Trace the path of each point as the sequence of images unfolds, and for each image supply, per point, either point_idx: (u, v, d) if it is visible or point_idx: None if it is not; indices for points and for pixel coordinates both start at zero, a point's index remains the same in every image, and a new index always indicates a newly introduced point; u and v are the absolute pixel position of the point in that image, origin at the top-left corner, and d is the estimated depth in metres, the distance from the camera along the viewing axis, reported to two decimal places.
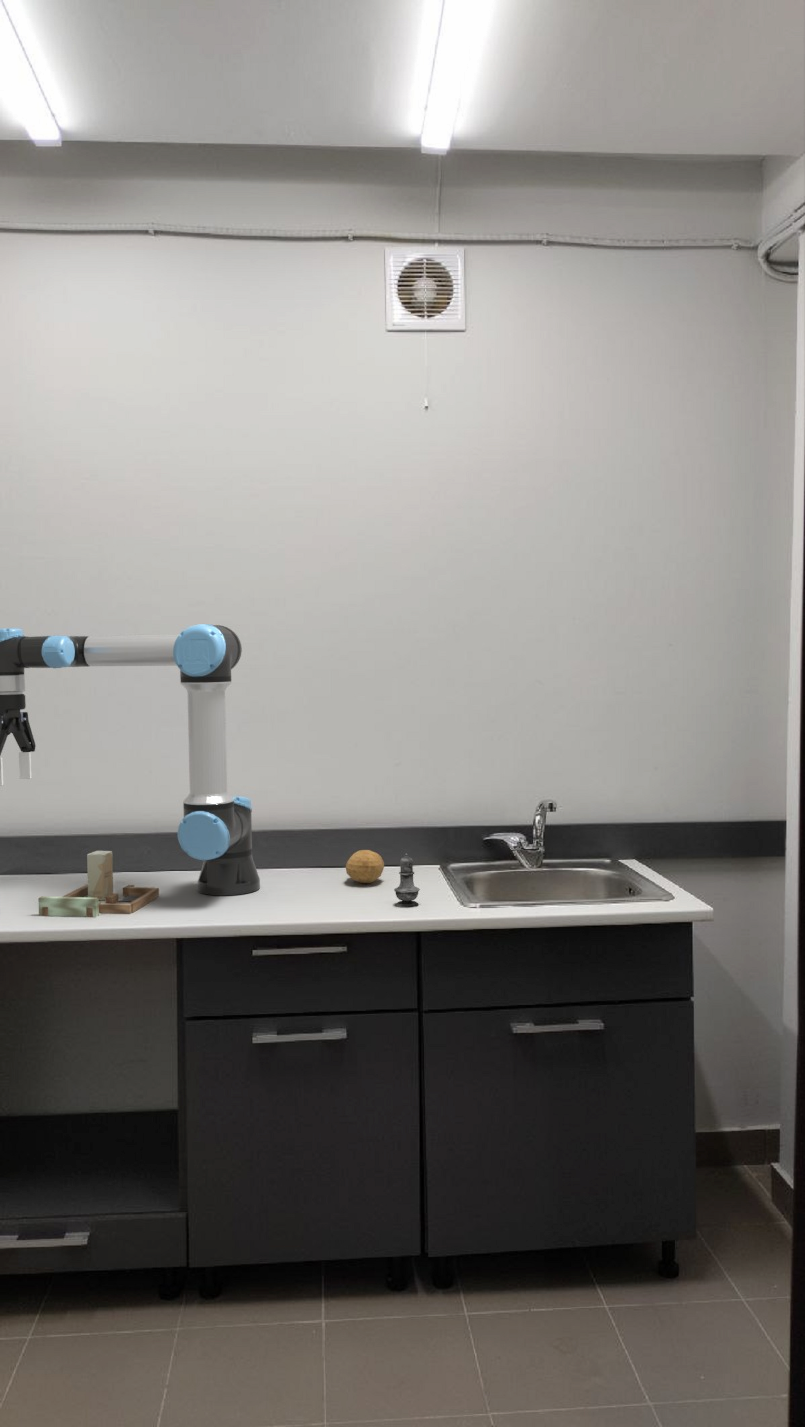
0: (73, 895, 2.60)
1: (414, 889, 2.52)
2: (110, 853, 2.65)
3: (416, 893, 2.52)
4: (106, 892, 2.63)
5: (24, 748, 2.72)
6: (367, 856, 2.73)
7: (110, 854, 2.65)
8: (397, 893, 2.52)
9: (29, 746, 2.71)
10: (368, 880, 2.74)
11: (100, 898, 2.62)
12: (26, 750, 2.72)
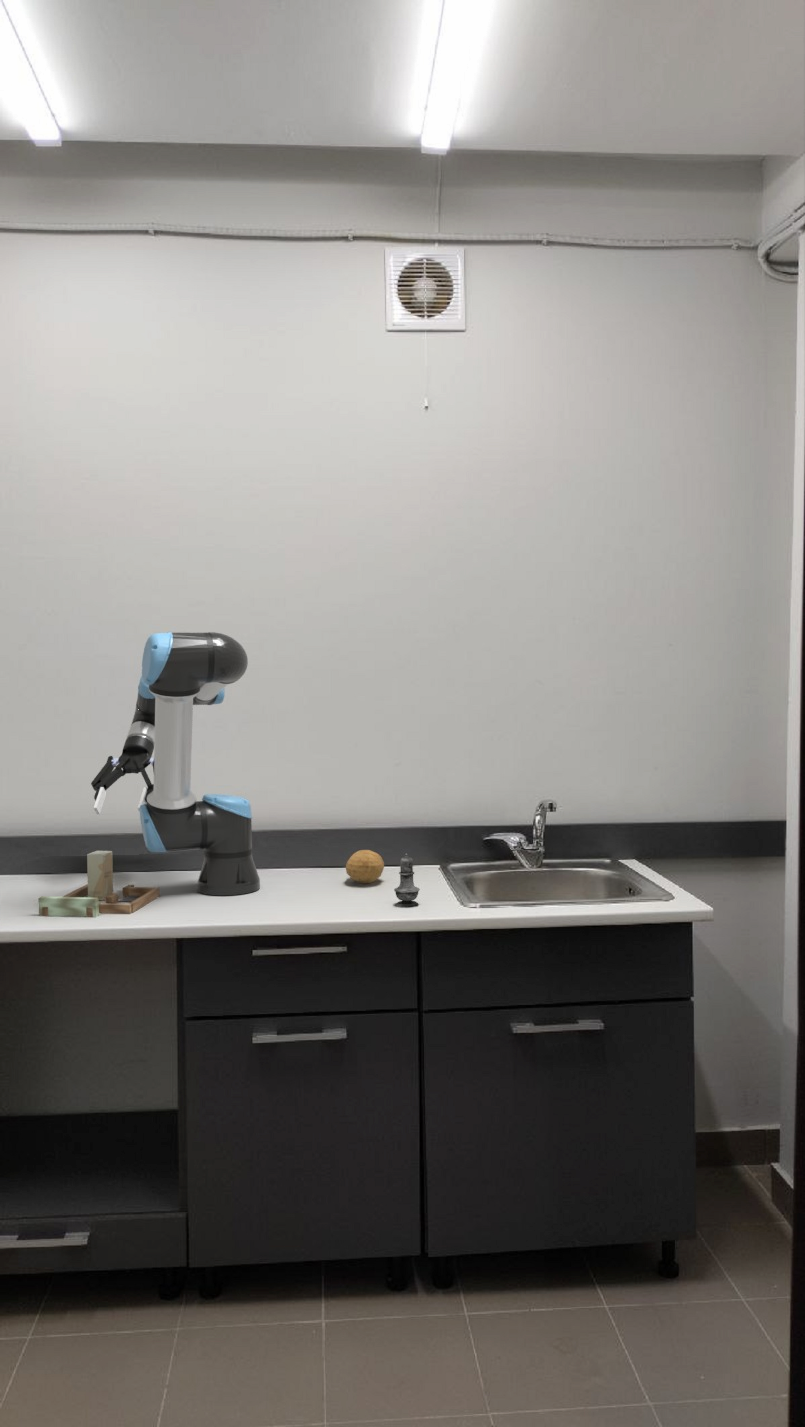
0: (73, 895, 2.60)
1: (414, 889, 2.52)
2: (110, 853, 2.65)
3: (416, 893, 2.52)
4: (106, 892, 2.63)
5: None
6: (367, 856, 2.73)
7: (110, 854, 2.65)
8: (397, 893, 2.52)
9: (148, 782, 2.79)
10: (368, 880, 2.74)
11: (100, 898, 2.62)
12: None
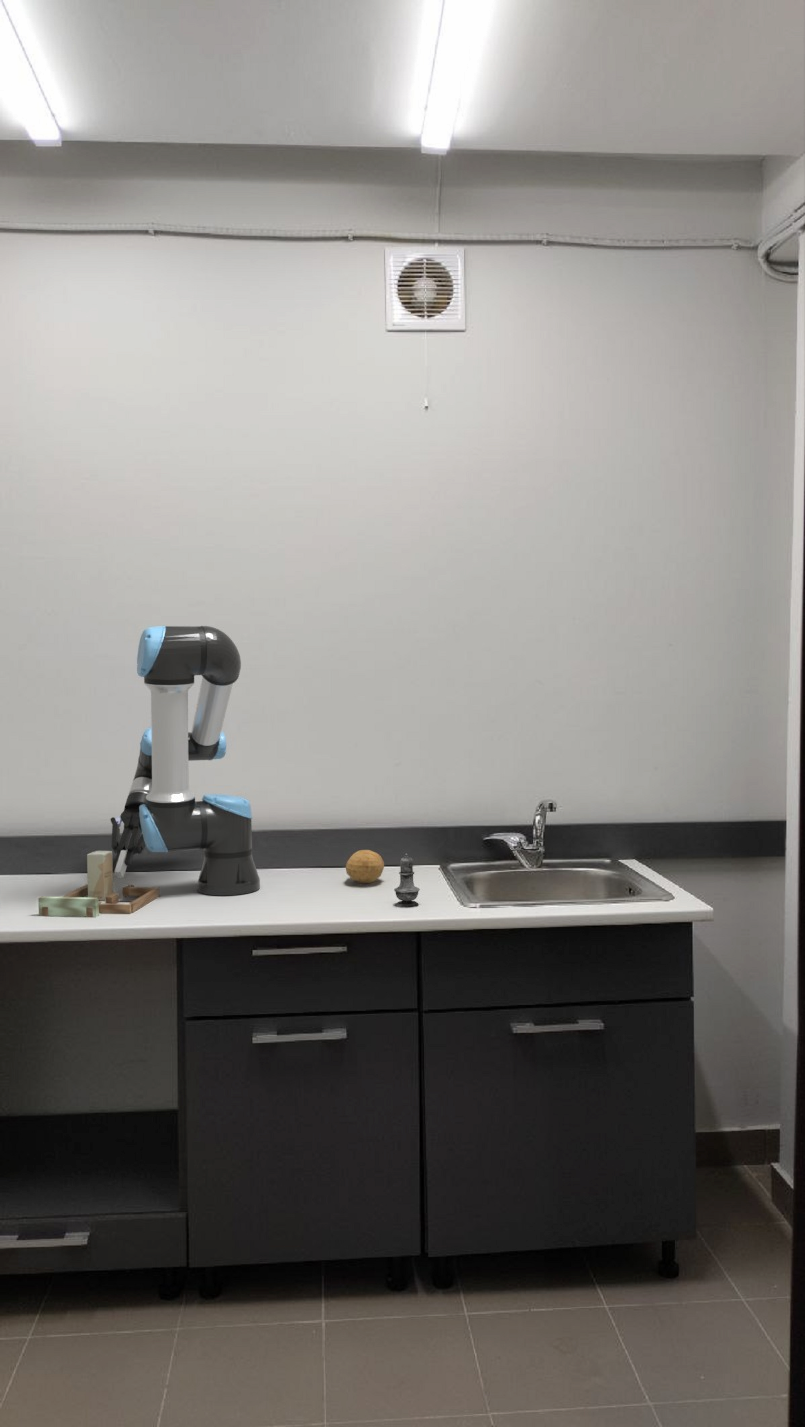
0: (73, 895, 2.60)
1: (414, 889, 2.52)
2: (110, 853, 2.65)
3: (416, 893, 2.52)
4: (106, 892, 2.63)
5: None
6: (367, 856, 2.73)
7: (110, 854, 2.65)
8: (397, 893, 2.52)
9: (130, 845, 2.80)
10: (368, 880, 2.74)
11: (100, 898, 2.62)
12: None
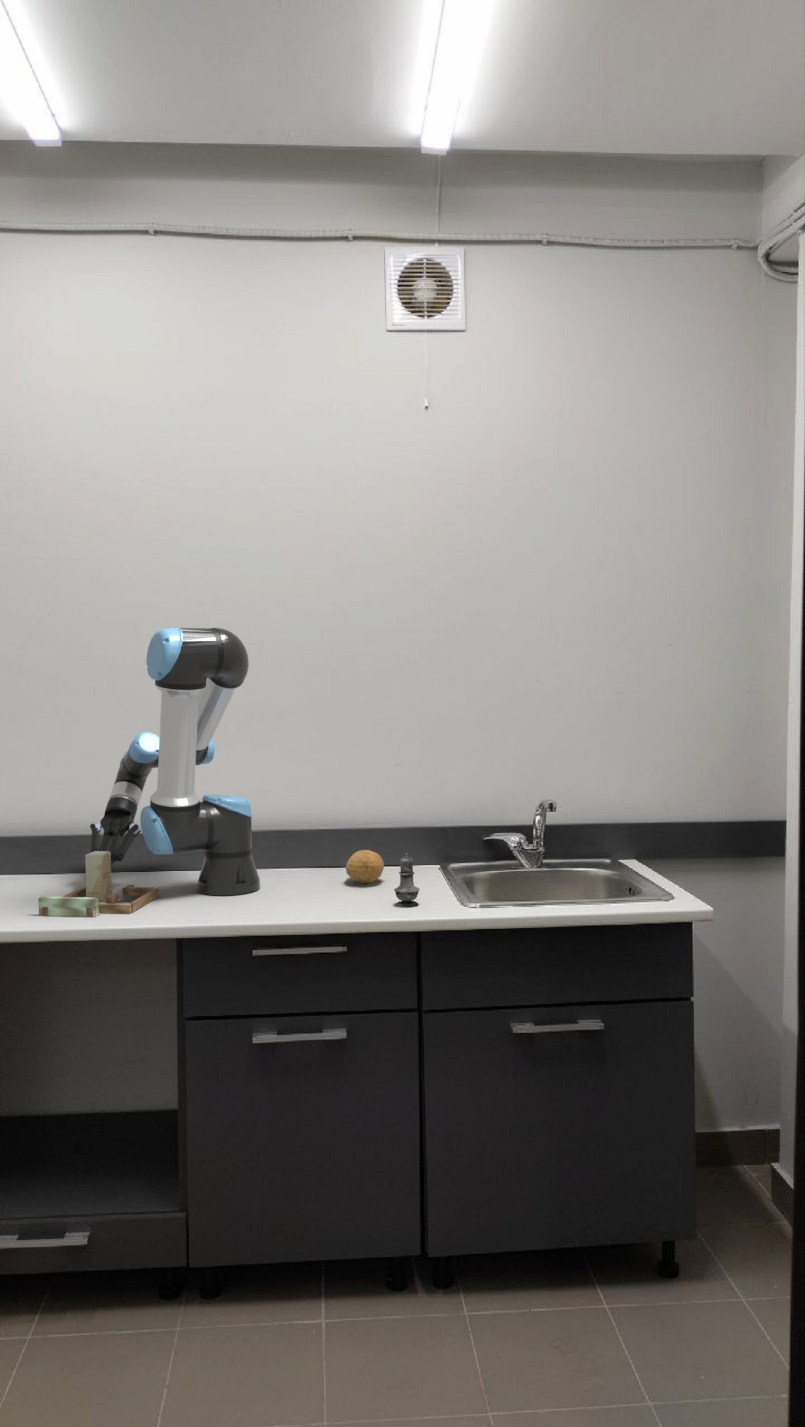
0: (73, 895, 2.60)
1: (414, 889, 2.52)
2: (108, 853, 2.64)
3: (416, 893, 2.52)
4: (105, 893, 2.62)
5: None
6: (367, 856, 2.73)
7: (108, 854, 2.64)
8: (397, 893, 2.52)
9: (110, 852, 2.72)
10: (368, 880, 2.74)
11: (98, 899, 2.61)
12: None
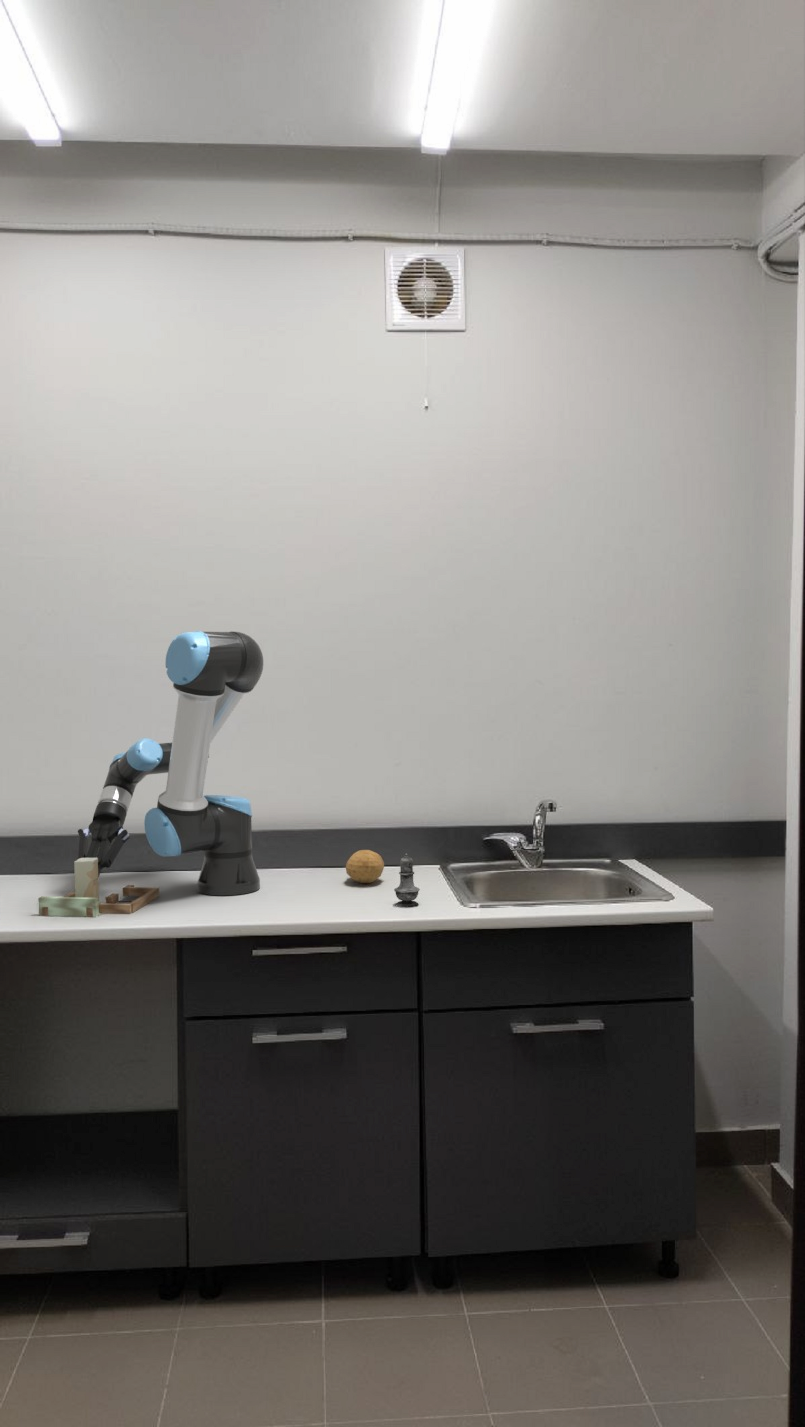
0: (73, 895, 2.60)
1: (414, 889, 2.52)
2: (96, 860, 2.57)
3: (416, 893, 2.52)
4: None
5: None
6: (367, 856, 2.73)
7: (96, 861, 2.57)
8: (397, 893, 2.52)
9: None
10: (368, 880, 2.74)
11: None
12: None
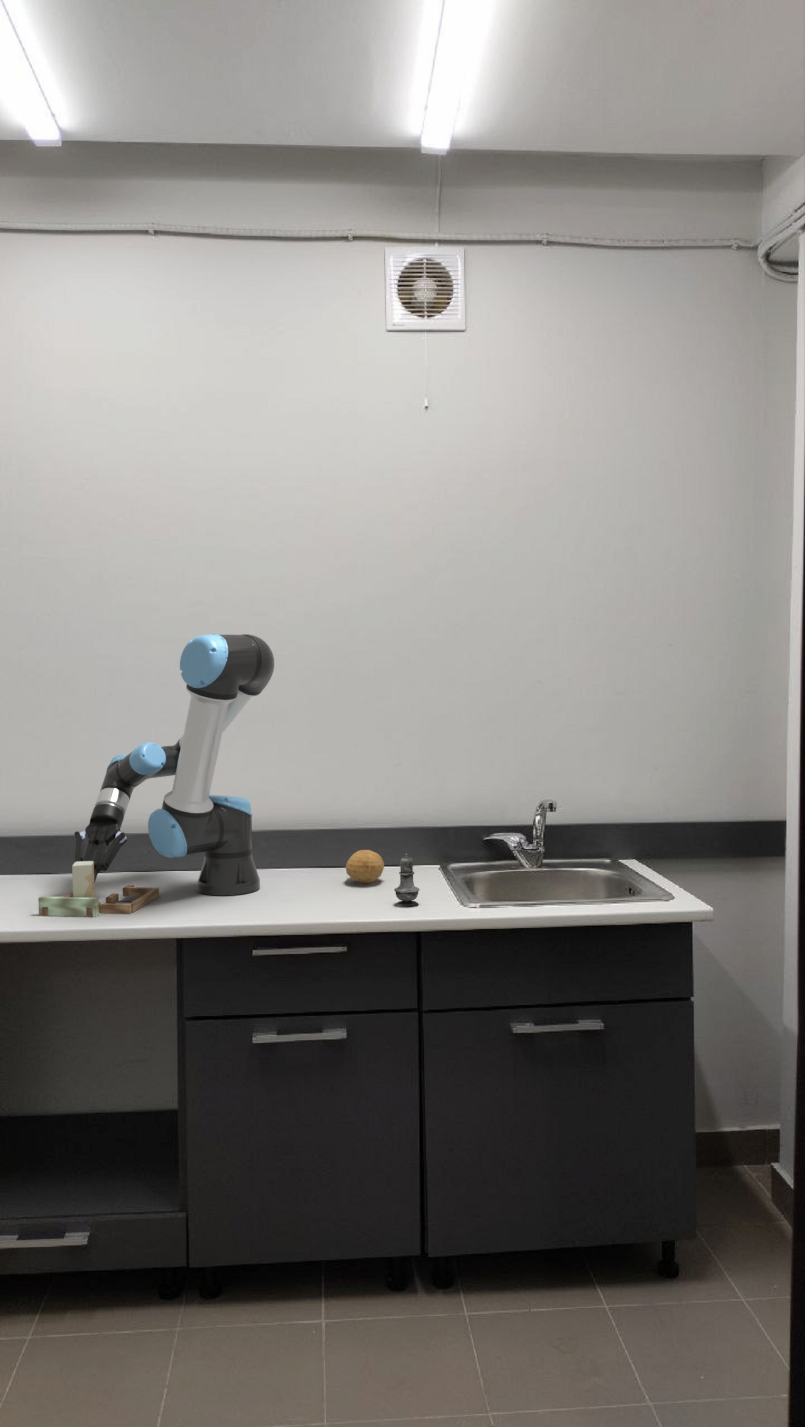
0: None
1: (414, 889, 2.52)
2: (93, 863, 2.53)
3: (416, 893, 2.52)
4: None
5: None
6: (367, 856, 2.73)
7: (93, 864, 2.52)
8: (397, 893, 2.52)
9: (94, 861, 2.59)
10: (368, 880, 2.74)
11: None
12: None
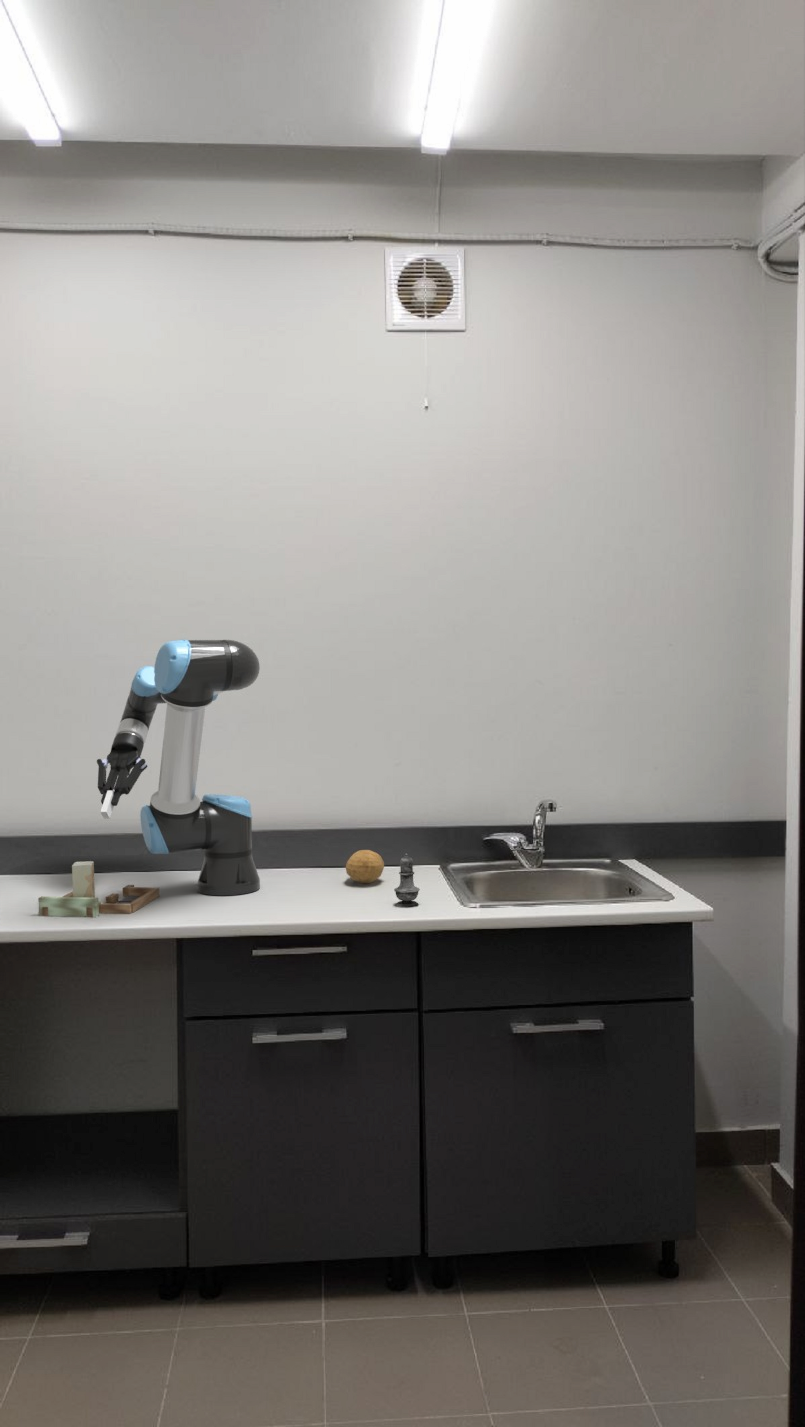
0: None
1: (414, 889, 2.52)
2: (93, 863, 2.53)
3: (416, 893, 2.52)
4: None
5: None
6: (367, 856, 2.73)
7: (93, 864, 2.53)
8: (397, 893, 2.52)
9: (117, 785, 2.72)
10: (368, 880, 2.74)
11: None
12: None
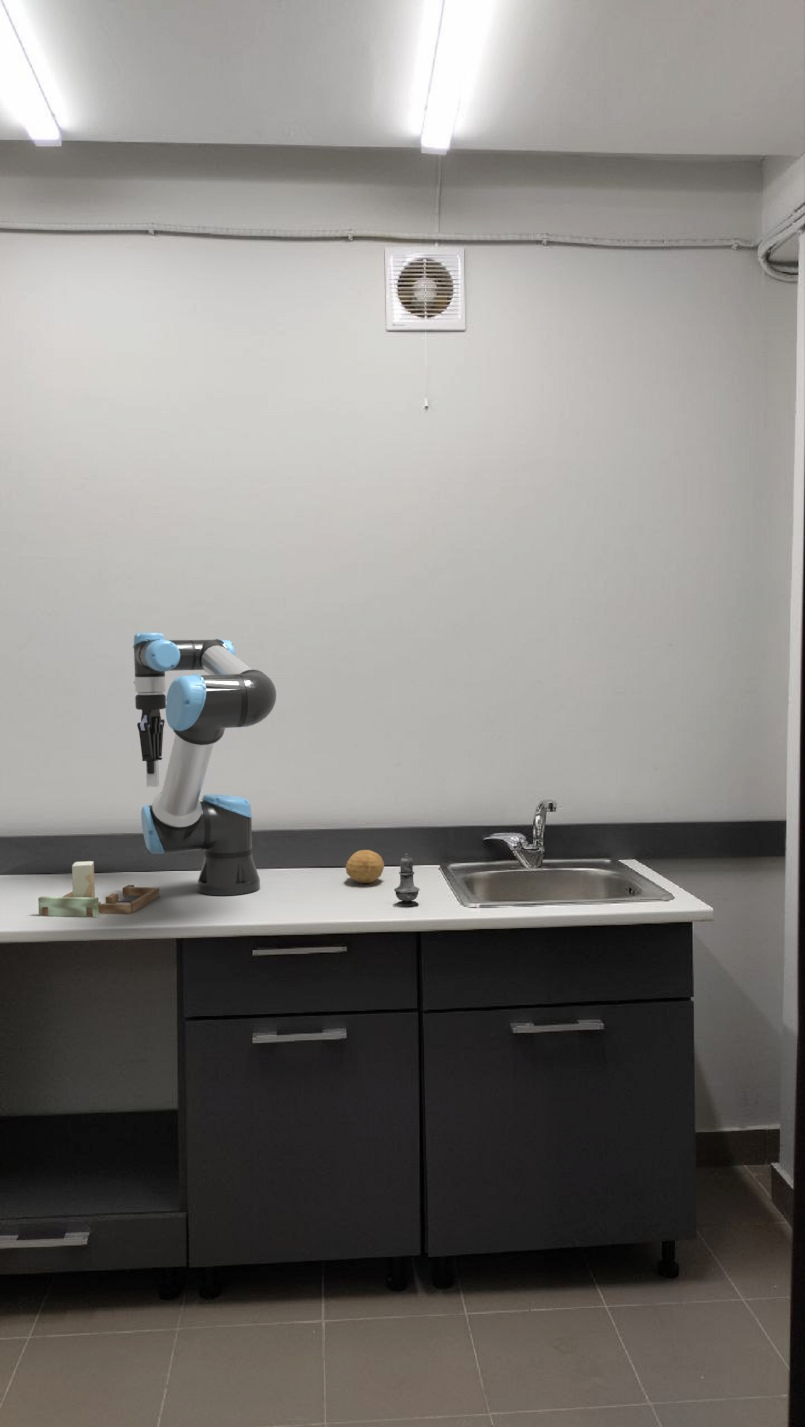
0: None
1: (414, 889, 2.52)
2: (93, 863, 2.53)
3: (416, 893, 2.52)
4: None
5: None
6: (367, 856, 2.73)
7: (93, 864, 2.53)
8: (397, 893, 2.52)
9: (158, 753, 2.83)
10: (368, 880, 2.74)
11: None
12: None
